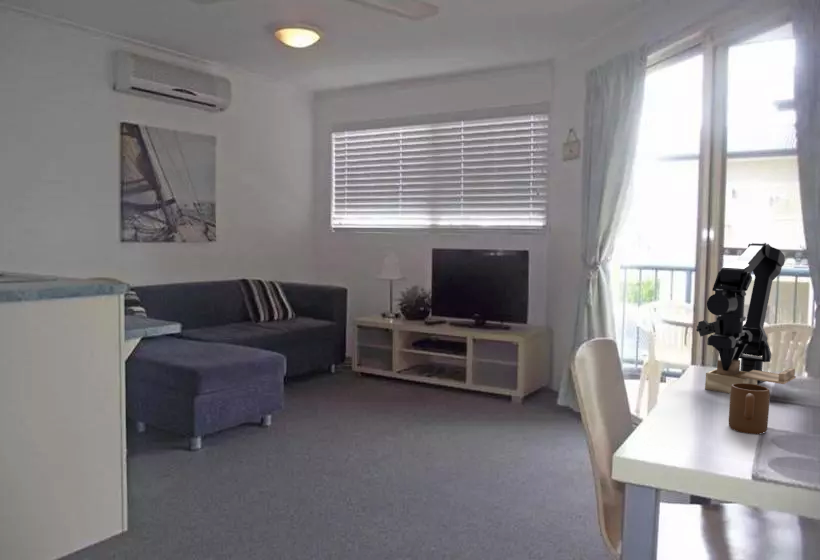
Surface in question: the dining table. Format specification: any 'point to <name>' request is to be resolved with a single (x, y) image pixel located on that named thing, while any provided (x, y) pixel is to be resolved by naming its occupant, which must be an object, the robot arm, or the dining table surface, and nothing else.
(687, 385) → the dining table surface
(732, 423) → the mug
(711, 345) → the robot arm
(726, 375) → the wooden box
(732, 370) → the block
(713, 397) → the dining table surface
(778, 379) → the lid
